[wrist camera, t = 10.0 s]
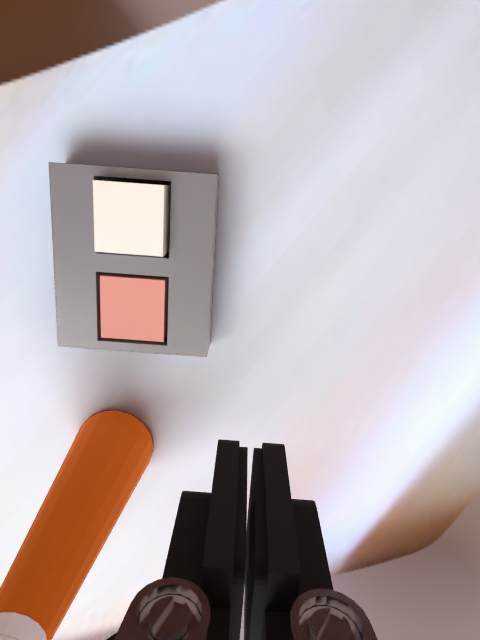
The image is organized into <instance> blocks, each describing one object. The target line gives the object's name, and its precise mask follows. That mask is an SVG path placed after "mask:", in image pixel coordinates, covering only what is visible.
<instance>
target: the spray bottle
mask: <svg viewBox="0 0 480 640" xmlns="http://www.w3.org/2000/svg"><path fill="white" fill-rule="evenodd" d="M152 453H153V443H152V436H151V435H150V433H149V431H148V429H147V428H146V426H145V424H143V423H142V422H141V421H140V420H138V419H137V418H136V417H134V416H133V415H131V414H128V413H125V412H121V411H103V412H100V413H98V414H96V415H93V416H91V417H89V419H88V420H87V421H86V422H85V423H84V424H83V425H82V426H81V428H80V430H79V432H78V434H77V436H76V438H75V440H74V442H73V444H72V446H71V448H70V450H69V452H68V454H67V456H66V458H65V460H64V462H63V464H62V466H61V468H60V470H59V472H58V474H57V476H56V478H55V480H54V482H53V484H52V486H51V488H50V490H49V492H48V494H47V496H46V498H45V500H44V502H43V504H42V506H41V508H40V510H39V512H38V514H37V516H36V518H35V520H34V522H33V524H32V526H31V528H30V530H29V532H28V534H27V536H26V538H25V540H24V542H23V544H22V546H21V548H20V550H19V552H18V554H17V556H16V558H15V560H14V562H13V564H12V566H11V568H10V570H9V572H8V574H7V576H6V578H5V580H4V582H3V584H2V586H1V588H0V640H52V638H53V636H54V634H55V633H56V631H57V629H58V627H59V625H60V623H61V622H62V620H63V618H64V616H65V614H66V613H67V611H68V609H69V607H70V605H71V603H72V602H73V600H74V598H75V596H76V594H77V593H78V591H79V589H80V587H81V585H82V583H83V582H84V580H85V578H86V576H87V574H88V573H89V571H90V569H91V567H92V565H93V563H94V562H95V560H96V558H97V556H98V554H99V553H100V551H101V549H102V547H103V545H104V544H105V542H106V540H107V538H108V536H109V534H110V533H111V531H112V529H113V527H114V525H115V524H116V522H117V520H118V518H119V516H120V514H121V513H122V511H123V509H124V507H125V505H126V504H127V502H128V500H129V498H130V496H131V494H132V493H133V491H134V489H135V487H136V485H137V484H138V482H139V480H140V478H141V476H142V474H143V473H144V471H145V469H146V467H147V465H148V464H149V461H150V458H151V456H152Z"/></svg>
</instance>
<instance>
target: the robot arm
mask: <svg viewBox="0 0 480 640" xmlns="http://www.w3.org/2000/svg"><path fill="white" fill-rule="evenodd" d="M246 520H247V447H239V441H232V440H218V446H217V454H216V462H215V470H214V477H213V485H212V493H205V492H192V491H183V492H182V494H181V498H180V503H179V507H178V511H177V516H176V520H175V525H174V529H173V534H172V538H171V542H170V547H169V551H168V556H167V560H166V565H165V569H164V573H163V578H162V579H159V580H156V581H154V582H152V583H150V584H148V585H146V586H145V587H144V588H143V589H142V590H140V591H139V592H138V593H137V595H136V596H135V598H134V599H133V601H132V602H131V604H130V606H129V608H128V610H127V613H126V615H125V617H124V619H123V621H122V623H121V625H120V628H119V630H118V632H117V633H115V634H114V635H112V636H111V637H110V638H108V639H107V640H239V638H240V628H241V616H242V606H243V595H244V584H245V602H244V640H378V639H377V637H376V634H375V632H374V630H373V628H372V625H371V623H370V621H369V619H368V617H367V616H366V614H365V612H364V611H363V609H362V608H361V607H360V606H359V605H358V604H357V603H356V602H355V601H354V600H352V599H351V598H349V597H347V596H346V595H344V594H342V593H340V592H337V591H334V590H333V586H332V581H331V576H330V571H329V566H328V562H327V557H326V552H325V547H324V542H323V537H322V532H321V527H320V522H319V517H318V512H317V507H316V504H315V502H314V501H312V500H299V499H291V492H290V485H289V477H288V469H287V461H286V453H285V446H284V444H272V443H263V444H262V449H261V448H254V453H253V464H252V475H251V486H250V497H249V508H248V520H247V531H246Z"/></svg>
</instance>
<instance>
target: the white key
mask: <svg viewBox="0 0 480 640" xmlns="http://www.w3.org/2000/svg"><path fill="white" fill-rule="evenodd" d="M93 207H94V249H95V252H107V253H120V254H134V255H148V256H161V257H163V256H164V255H165V254H167V253H168V252H169V213H170V185H159V184H145V183H131V182H118V181H104V180H93Z"/></svg>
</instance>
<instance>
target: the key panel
mask: <svg viewBox="0 0 480 640" xmlns="http://www.w3.org/2000/svg"><path fill="white" fill-rule="evenodd" d="M106 177H119V178H133V179H147V180H161V181H171V209H170V250H169V253H167V254H165V255H164V256H163V257H161V256H148V255H134V254H120V253H107V252H95V249H94V207H93V180H104V181H106ZM49 178H50V198H51V218H52V239H53V259H54V279H55V299H56V319H57V339H58V346H64V347H78V348H91V349H105V350H118V351H132V352H146V353H159V354H173V355H186V356H200V357H207V354H208V350H209V346H210V334H211V315H212V297H213V278H214V259H215V240H216V222H217V203H218V184H219V175H217V174H206V173H192V172H178V171H164V170H150V169H137V168H123V167H109V166H95V165H81V164H68V163H54V162H49ZM105 272H107V273H121V274H135V275H148V276H162V277H169V291H168V332H167V337H166V339H165V340H164V342H156V341H142V340H129V339H115V338H102V337H101V312H100V275H102V274H104V273H105Z"/></svg>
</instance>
